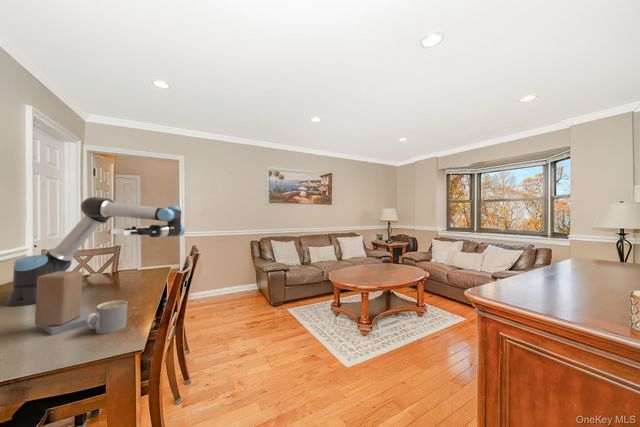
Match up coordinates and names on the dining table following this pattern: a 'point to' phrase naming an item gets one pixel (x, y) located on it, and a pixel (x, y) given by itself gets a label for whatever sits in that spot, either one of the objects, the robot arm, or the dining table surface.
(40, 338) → the dining table surface
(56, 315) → the block
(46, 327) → the stand
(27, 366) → the dining table surface
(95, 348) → the dining table surface
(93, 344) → the dining table surface
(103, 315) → the coffee mug
